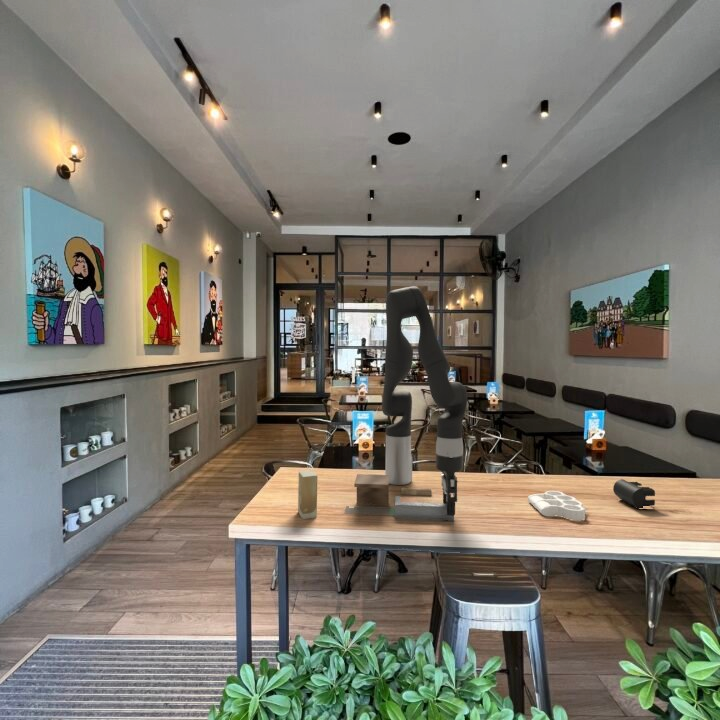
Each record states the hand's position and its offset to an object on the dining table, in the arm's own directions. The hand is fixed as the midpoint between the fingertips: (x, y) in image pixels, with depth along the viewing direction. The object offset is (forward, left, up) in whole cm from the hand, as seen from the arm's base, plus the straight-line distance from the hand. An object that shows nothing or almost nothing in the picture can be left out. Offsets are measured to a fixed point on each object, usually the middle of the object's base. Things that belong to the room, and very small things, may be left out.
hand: (448, 509), depth 121 cm
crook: (+3, -7, -3) cm, 8 cm away
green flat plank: (+9, -16, -3) cm, 18 cm away
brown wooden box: (+10, -20, -3) cm, 23 cm away
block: (+5, -11, -3) cm, 12 cm away
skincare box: (+28, -30, -3) cm, 41 cm away
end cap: (-53, +32, -3) cm, 63 cm away
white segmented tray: (-31, +18, -4) cm, 36 cm away
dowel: (-9, -19, -3) cm, 22 cm away
